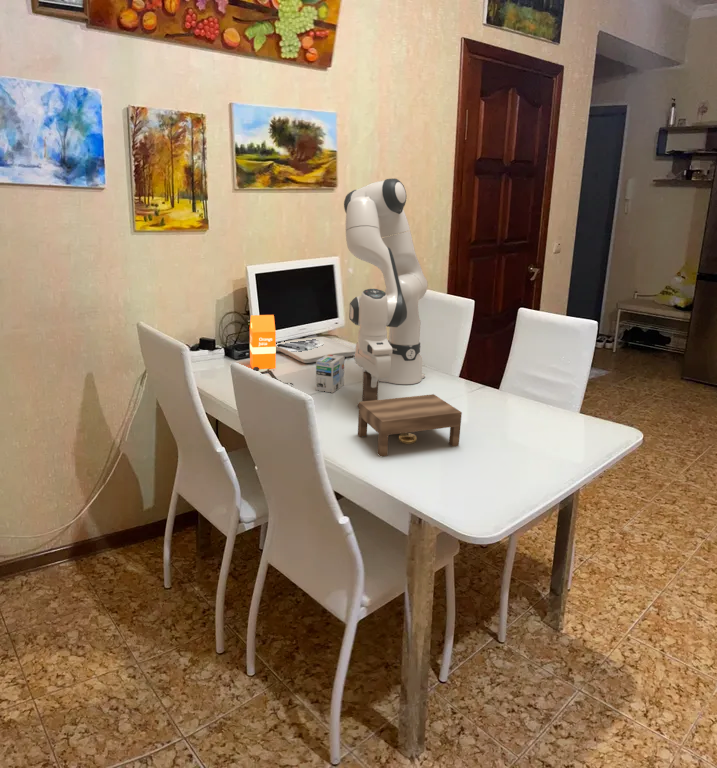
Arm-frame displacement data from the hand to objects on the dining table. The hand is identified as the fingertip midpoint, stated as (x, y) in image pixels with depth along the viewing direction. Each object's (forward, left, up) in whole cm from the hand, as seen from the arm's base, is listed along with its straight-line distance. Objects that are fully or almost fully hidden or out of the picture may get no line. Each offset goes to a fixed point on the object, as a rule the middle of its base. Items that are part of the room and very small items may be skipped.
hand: (370, 384), depth 202 cm
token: (+27, 0, -8) cm, 28 cm away
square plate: (-68, +4, -9) cm, 69 cm away
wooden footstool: (+27, 0, -8) cm, 28 cm away
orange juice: (-56, -21, -8) cm, 60 cm away
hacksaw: (-41, -21, -9) cm, 47 cm away
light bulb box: (-24, -5, -8) cm, 26 cm away
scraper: (+9, 0, -8) cm, 12 cm away
